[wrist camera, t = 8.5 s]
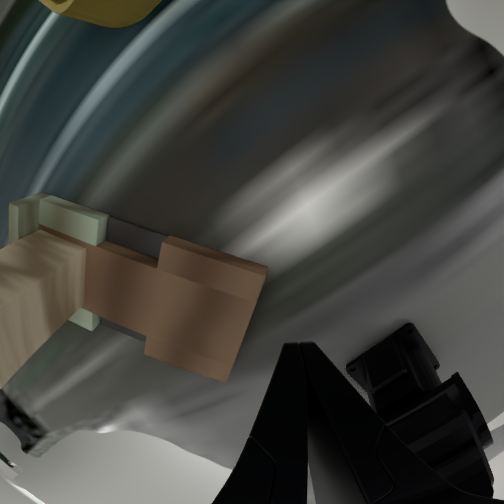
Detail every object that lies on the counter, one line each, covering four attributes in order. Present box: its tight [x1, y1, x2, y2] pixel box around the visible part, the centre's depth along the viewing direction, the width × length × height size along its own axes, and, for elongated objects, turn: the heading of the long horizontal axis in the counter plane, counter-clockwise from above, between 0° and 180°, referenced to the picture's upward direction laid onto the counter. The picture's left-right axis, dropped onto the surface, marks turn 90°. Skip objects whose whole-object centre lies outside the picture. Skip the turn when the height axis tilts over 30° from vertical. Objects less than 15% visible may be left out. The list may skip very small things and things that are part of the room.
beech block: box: [0, 230, 86, 389], centre depth 16 cm, size 5×5×11 cm
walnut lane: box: [9, 192, 267, 383], centre depth 21 cm, size 19×10×4 cm, turn 73°
